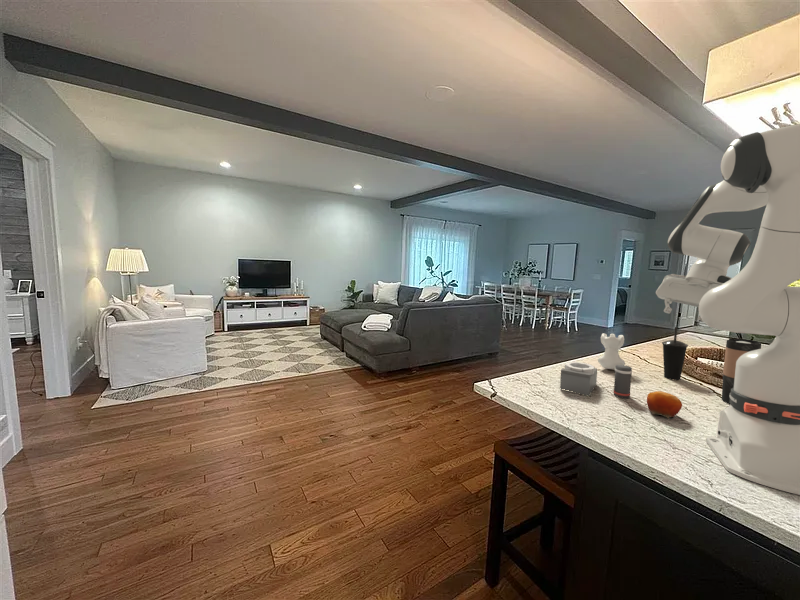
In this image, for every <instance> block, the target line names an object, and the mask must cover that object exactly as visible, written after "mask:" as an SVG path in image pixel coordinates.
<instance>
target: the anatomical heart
mask: <svg viewBox="0 0 800 600" xmlns="http://www.w3.org/2000/svg"><path fill="white" fill-rule="evenodd" d="M600 343H601V345H603V347H604V352H603V354H602V355H600V356H599V357H598V358H597V362H598V363H599V365H600V366H601V367H602V368H603V369H608V370H614V371H615V366H616V365H625V366H626V362H625V360H623V358H622V357H620V354H619V350H620V349H621V348H622V347H623V345H624V344H625V336H624V335H623V334H619V335H618V336H617V337H616V333H610V334H609V336H608V335H607V333H603V332H602V333H601V336H600Z"/></svg>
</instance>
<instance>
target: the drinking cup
mask: <svg viewBox="0 0 800 600" xmlns="http://www.w3.org/2000/svg"><path fill="white" fill-rule="evenodd" d="M673 333H674V335H673V339H669V340H664V341H662V342H661V343H662V355H663V377H664V378H666V379H668V380H672V379H674V381H679V379H680V380H681V378H682V377H681V376H682V372H683V367H684V362H685V358H686V352H687V348H688V346H689V345H688V344H687V343H686V342H684V341H681V340H678V339H677V334H678V326H674V332H673Z"/></svg>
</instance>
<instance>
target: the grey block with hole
mask: <svg viewBox="0 0 800 600" xmlns="http://www.w3.org/2000/svg"><path fill="white" fill-rule="evenodd" d="M597 373H598V368H596V367H595V366H594V365H592V364H590V363H588V362H587V363H586V362H580V361H567V362H566V363H565V364H564V368H561V369H560V381H559V385H560V386H559V389H560V388H561V389H565V390H569V391H573V392H576V393H575V394H577V393H580V394H579V395H582V394H584V395H583V396H586V395H588V396H587V397H589V396H590V395H591V394H590V393H592V392H593V391H594V389H595V387H596V386H597V379H598V377H597V376H598V374H597ZM595 385H596V386H595ZM593 388H594V389H593Z"/></svg>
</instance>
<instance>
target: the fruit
mask: <svg viewBox="0 0 800 600" xmlns="http://www.w3.org/2000/svg"><path fill="white" fill-rule="evenodd" d="M646 406H647V407H648V411H649V412H650V413H651V414H652V416H655V415H658V416H659V415H660V416H663V417H665V418H667V419H668V420H670V418H674V417H675V416H677V415H678V413H680V411H681V410H682V408H683V404H682V401H681V399H680V398H679V397H677V396H676V395H674V394H671V393H669V392H665V391H662V390H657V391H652V392H649V393H648V394H647V396H646Z"/></svg>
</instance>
